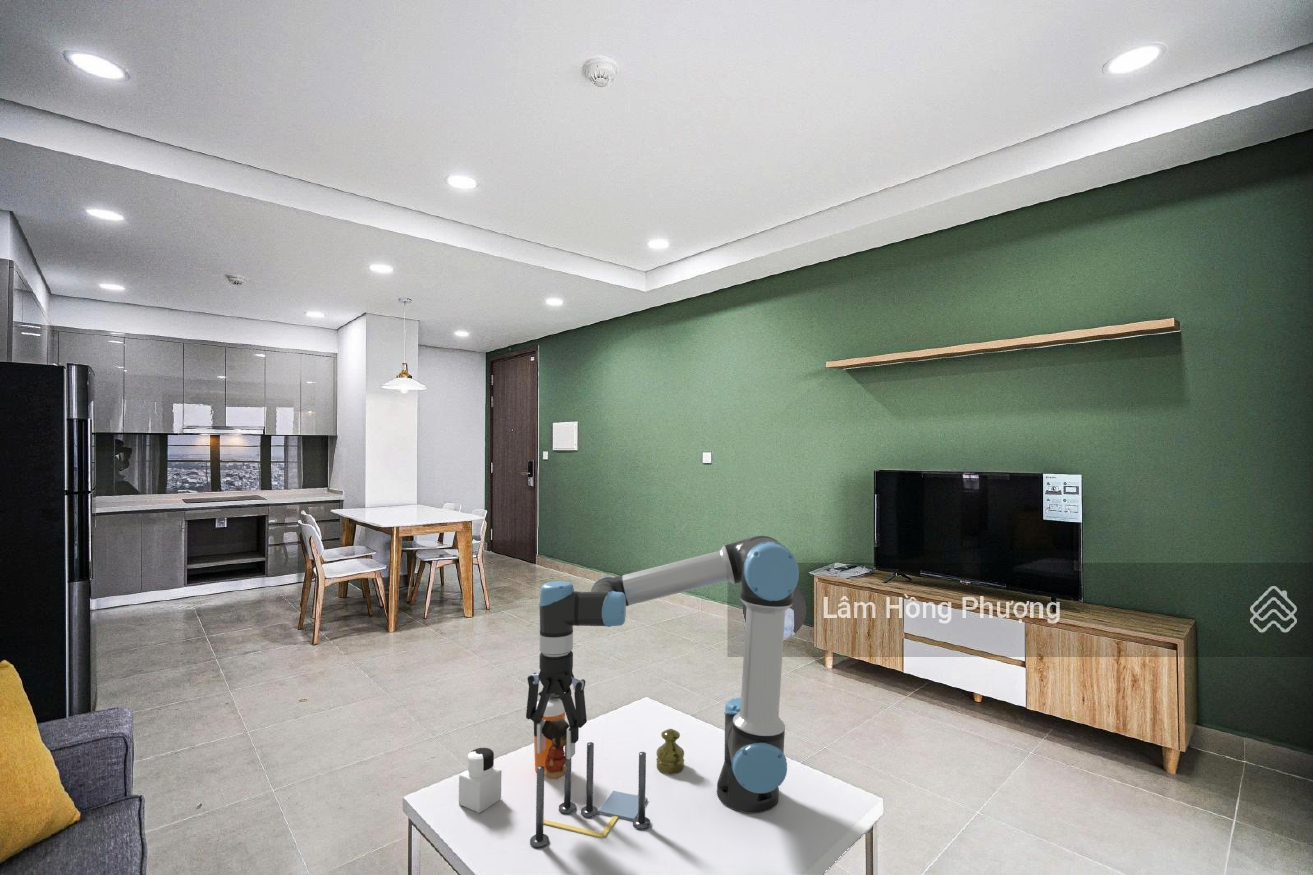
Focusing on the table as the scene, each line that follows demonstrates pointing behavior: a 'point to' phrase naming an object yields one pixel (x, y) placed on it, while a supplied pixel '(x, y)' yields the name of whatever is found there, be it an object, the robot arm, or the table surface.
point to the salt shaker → (670, 753)
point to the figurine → (555, 747)
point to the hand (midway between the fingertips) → (556, 753)
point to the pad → (621, 806)
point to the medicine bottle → (480, 781)
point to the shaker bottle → (551, 713)
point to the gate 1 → (564, 808)
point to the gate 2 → (641, 820)
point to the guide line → (584, 831)
